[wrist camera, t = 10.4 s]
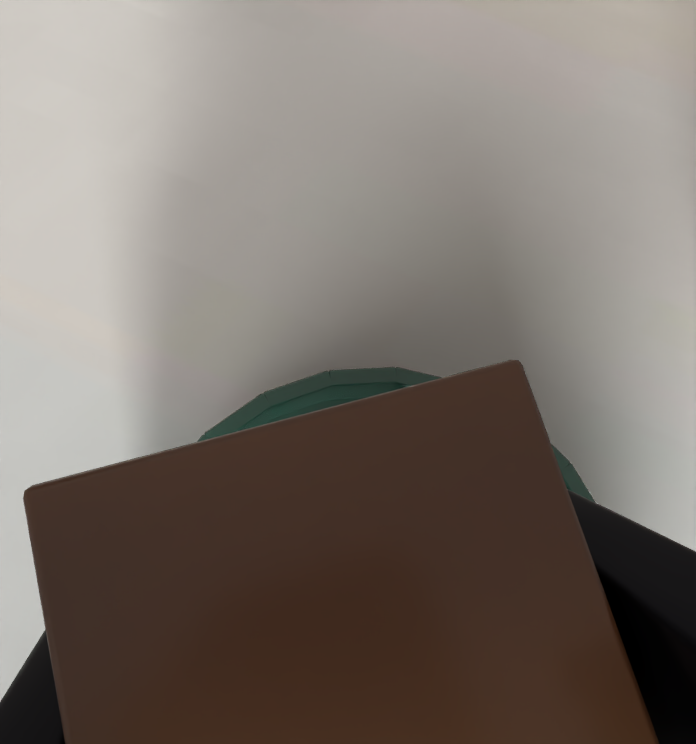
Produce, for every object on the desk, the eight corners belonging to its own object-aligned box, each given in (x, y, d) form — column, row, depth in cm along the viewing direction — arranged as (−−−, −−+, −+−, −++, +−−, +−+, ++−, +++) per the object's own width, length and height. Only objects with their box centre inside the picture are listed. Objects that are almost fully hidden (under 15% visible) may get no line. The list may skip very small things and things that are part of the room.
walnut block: (435, 673, 15) (718, 891, 6) (225, 747, 14) (131, 1157, 5) (374, 467, 16) (521, 354, 7) (176, 524, 15) (17, 486, 6)
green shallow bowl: (460, 936, 19) (514, 1049, 15) (54, 706, 20) (-6, 753, 15) (622, 518, 23) (702, 512, 19) (281, 331, 24) (283, 284, 19)
